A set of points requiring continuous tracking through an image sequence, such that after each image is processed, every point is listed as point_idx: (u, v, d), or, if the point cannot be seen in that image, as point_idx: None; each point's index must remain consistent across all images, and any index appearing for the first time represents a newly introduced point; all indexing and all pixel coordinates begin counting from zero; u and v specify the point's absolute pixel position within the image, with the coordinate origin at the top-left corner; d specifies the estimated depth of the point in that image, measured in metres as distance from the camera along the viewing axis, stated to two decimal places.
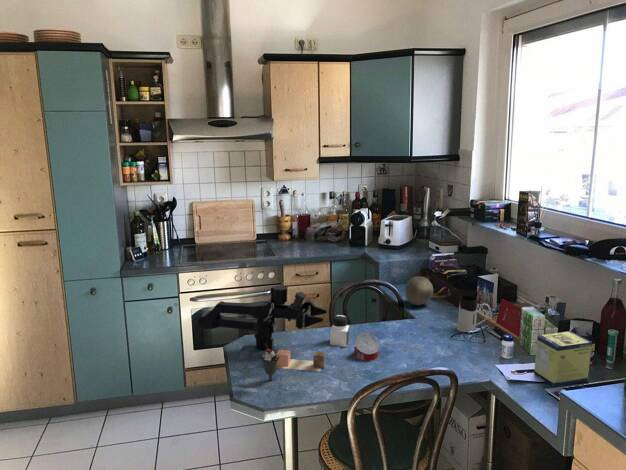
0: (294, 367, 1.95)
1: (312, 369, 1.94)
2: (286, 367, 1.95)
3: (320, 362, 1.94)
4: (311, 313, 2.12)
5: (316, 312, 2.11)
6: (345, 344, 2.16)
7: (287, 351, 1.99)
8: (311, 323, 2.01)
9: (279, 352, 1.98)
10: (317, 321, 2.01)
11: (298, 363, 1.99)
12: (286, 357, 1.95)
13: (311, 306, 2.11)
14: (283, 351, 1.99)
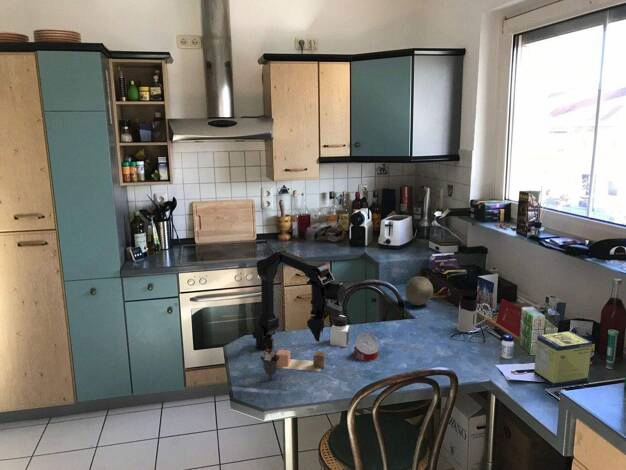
0: (294, 367, 1.95)
1: (312, 369, 1.94)
2: (286, 367, 1.95)
3: (320, 362, 1.94)
4: None
5: None
6: (345, 344, 2.16)
7: (287, 351, 1.99)
8: (313, 331, 1.88)
9: (279, 352, 1.98)
10: (315, 336, 1.88)
11: (298, 363, 1.99)
12: (286, 357, 1.95)
13: (325, 315, 1.97)
14: (283, 351, 1.99)
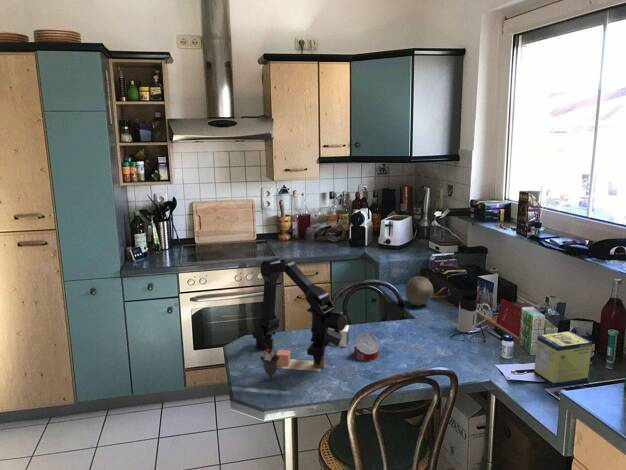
0: (294, 367, 1.95)
1: (312, 369, 1.94)
2: (286, 367, 1.95)
3: (320, 362, 1.94)
4: None
5: None
6: (345, 344, 2.16)
7: (287, 351, 1.99)
8: (314, 355, 1.92)
9: (279, 352, 1.98)
10: (316, 360, 1.93)
11: (298, 363, 1.99)
12: (286, 357, 1.95)
13: (324, 344, 1.97)
14: (283, 351, 1.99)
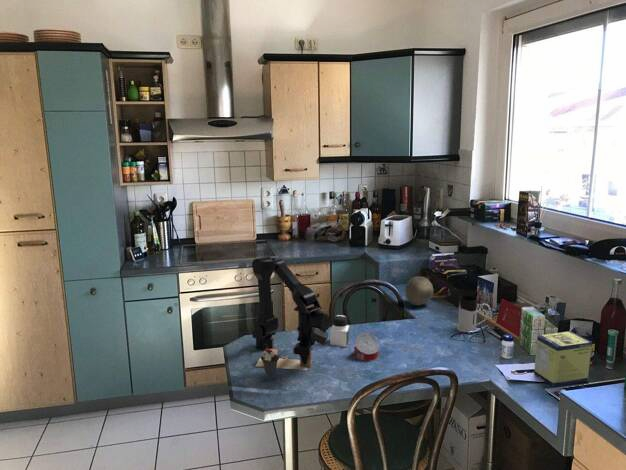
0: (281, 366, 1.96)
1: (299, 368, 1.95)
2: None
3: None
4: None
5: None
6: (345, 344, 2.16)
7: (274, 350, 1.99)
8: (300, 354, 1.93)
9: None
10: (303, 359, 1.94)
11: (285, 362, 1.99)
12: None
13: (310, 344, 1.97)
14: None
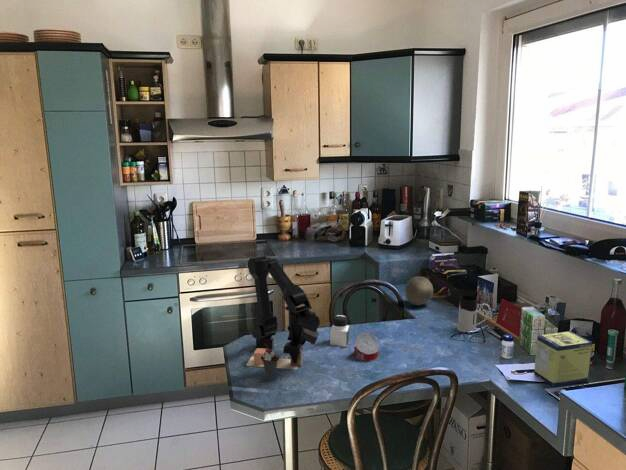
0: None
1: (289, 367, 1.95)
2: (263, 365, 1.97)
3: None
4: None
5: None
6: (345, 344, 2.16)
7: (265, 349, 2.00)
8: (291, 353, 1.94)
9: (257, 350, 1.99)
10: (293, 358, 1.95)
11: None
12: None
13: (301, 343, 1.98)
14: (261, 349, 2.00)
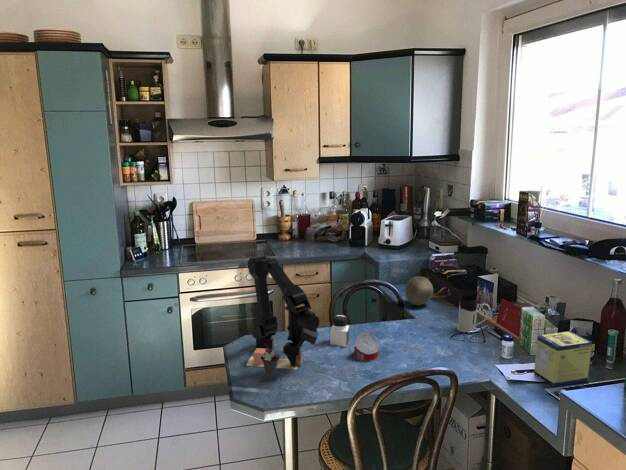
0: None
1: (289, 367, 1.95)
2: (263, 365, 1.97)
3: (296, 360, 1.96)
4: None
5: None
6: (345, 344, 2.16)
7: (264, 349, 2.00)
8: (289, 357, 1.91)
9: (257, 350, 1.99)
10: (291, 362, 1.92)
11: None
12: None
13: None
14: (261, 349, 2.00)
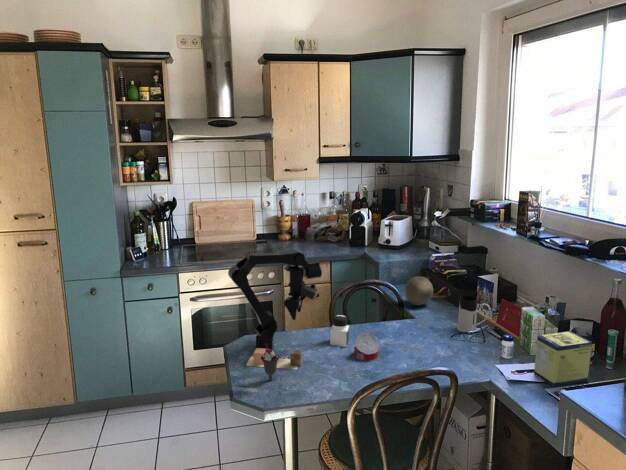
0: None
1: (289, 367, 1.95)
2: (263, 365, 1.97)
3: (296, 360, 1.96)
4: None
5: None
6: (345, 344, 2.16)
7: (264, 349, 2.00)
8: (289, 310, 2.09)
9: (257, 350, 1.99)
10: (292, 315, 2.10)
11: None
12: None
13: (302, 297, 2.19)
14: (261, 349, 2.00)
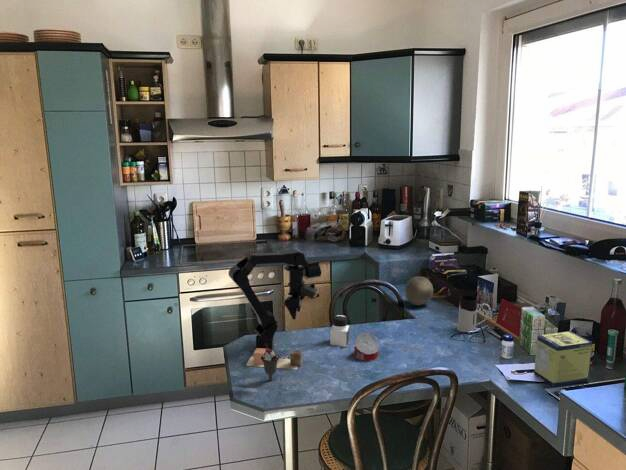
0: None
1: (289, 367, 1.95)
2: (263, 365, 1.97)
3: (296, 360, 1.96)
4: None
5: None
6: (345, 344, 2.16)
7: (264, 349, 2.00)
8: (289, 310, 2.10)
9: (257, 350, 1.99)
10: (292, 315, 2.11)
11: None
12: None
13: (302, 296, 2.20)
14: (261, 349, 2.00)
